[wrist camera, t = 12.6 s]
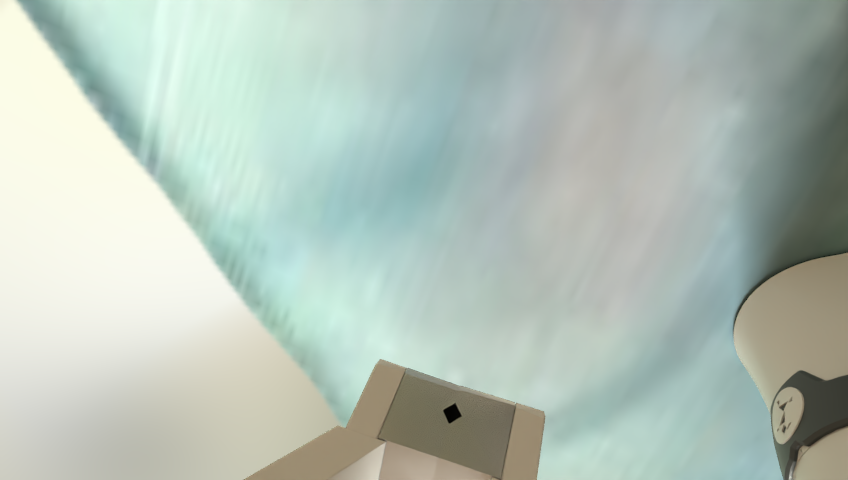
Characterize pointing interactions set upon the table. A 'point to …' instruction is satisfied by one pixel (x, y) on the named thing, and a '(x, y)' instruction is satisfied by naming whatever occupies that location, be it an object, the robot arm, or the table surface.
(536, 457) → the robot arm
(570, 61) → the table surface
